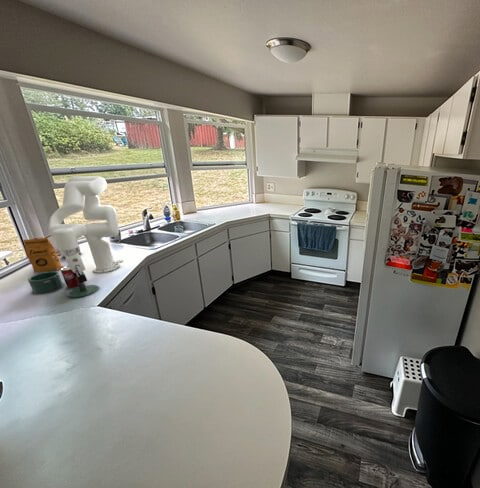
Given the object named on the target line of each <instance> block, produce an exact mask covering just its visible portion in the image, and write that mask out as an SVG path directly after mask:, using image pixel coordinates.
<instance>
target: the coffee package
mask: <svg viewBox="0 0 480 488" xmlns="http://www.w3.org/2000/svg"><path fill="white" fill-rule="evenodd" d="M23 243H24V250H25V255H26V256H27V258H28V261H29V263H30V265H31V266H32V269H33V273H34V274H35V273H37V274H38V273H43V272H44V273H45V272H56V271H59V270H61V269H62V268H63V265H62V263H61V260H60V257H59V256H58V253H57V251H56V249H55V247H54V246H53V244H52V243H51V241H50V240H49V238H47V237H41V238H27V239H23Z"/></svg>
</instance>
